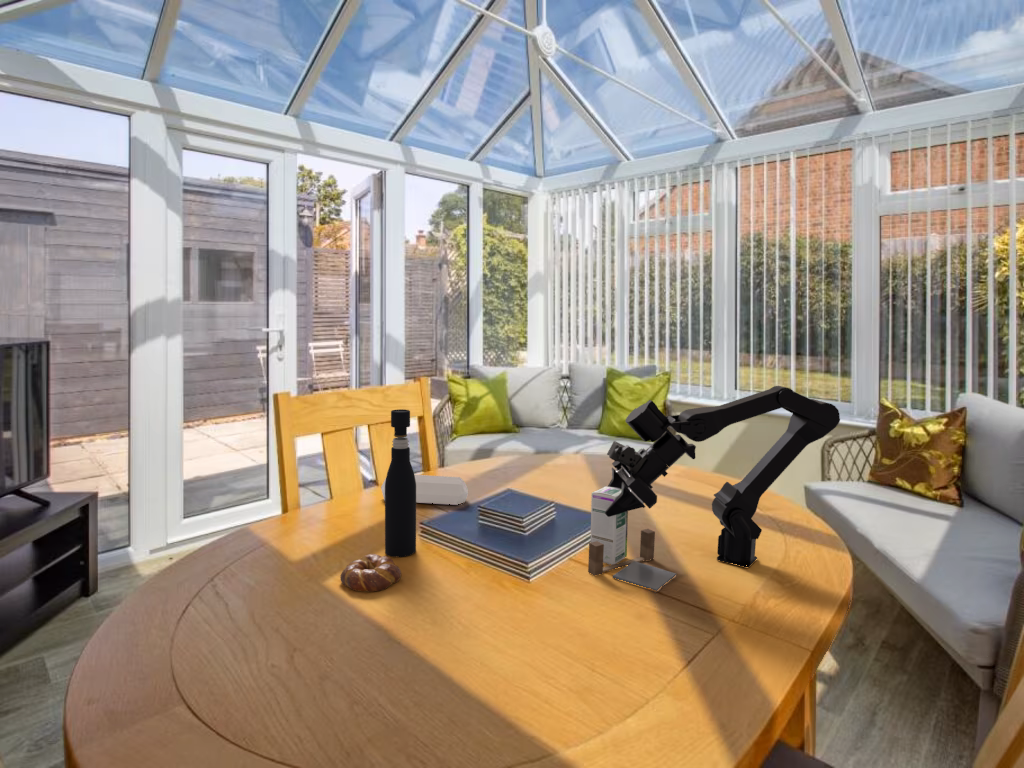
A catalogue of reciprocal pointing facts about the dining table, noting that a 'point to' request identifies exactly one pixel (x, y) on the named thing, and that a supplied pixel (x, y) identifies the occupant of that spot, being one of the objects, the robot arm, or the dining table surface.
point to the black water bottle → (400, 492)
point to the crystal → (438, 489)
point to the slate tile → (644, 575)
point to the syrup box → (609, 525)
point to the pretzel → (370, 573)
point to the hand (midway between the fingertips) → (603, 508)
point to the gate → (645, 554)
